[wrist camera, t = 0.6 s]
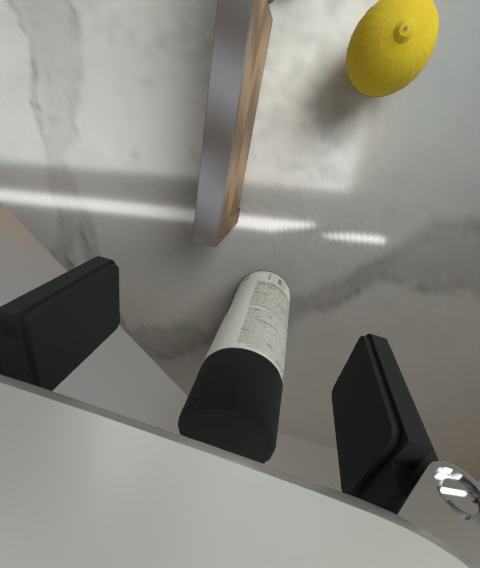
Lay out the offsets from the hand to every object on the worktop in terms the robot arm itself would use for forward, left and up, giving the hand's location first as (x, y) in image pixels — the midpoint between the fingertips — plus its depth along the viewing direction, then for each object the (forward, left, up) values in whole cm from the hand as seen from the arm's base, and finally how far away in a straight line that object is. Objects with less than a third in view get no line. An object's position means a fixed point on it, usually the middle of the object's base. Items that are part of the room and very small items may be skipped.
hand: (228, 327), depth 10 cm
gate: (-8, -5, -22) cm, 24 cm away
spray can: (+11, +1, -23) cm, 25 cm away
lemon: (-13, +5, -23) cm, 27 cm away
